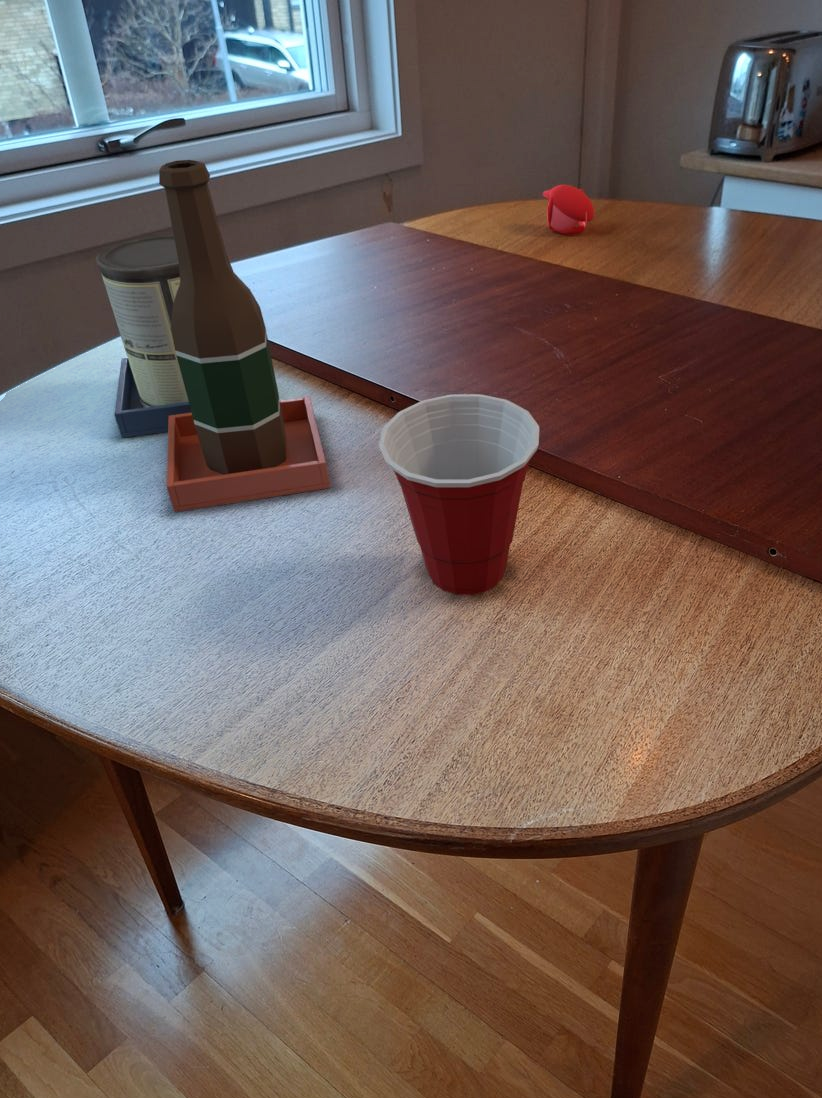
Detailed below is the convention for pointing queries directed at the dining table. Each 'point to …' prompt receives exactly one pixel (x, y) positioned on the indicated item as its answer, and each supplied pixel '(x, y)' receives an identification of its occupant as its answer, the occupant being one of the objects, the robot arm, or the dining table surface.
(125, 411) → the slate tray
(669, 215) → the dining table surface
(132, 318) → the coffee can
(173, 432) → the terracotta tray
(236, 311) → the beer bottle
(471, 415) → the plastic cup
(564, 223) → the cap
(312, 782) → the dining table surface
